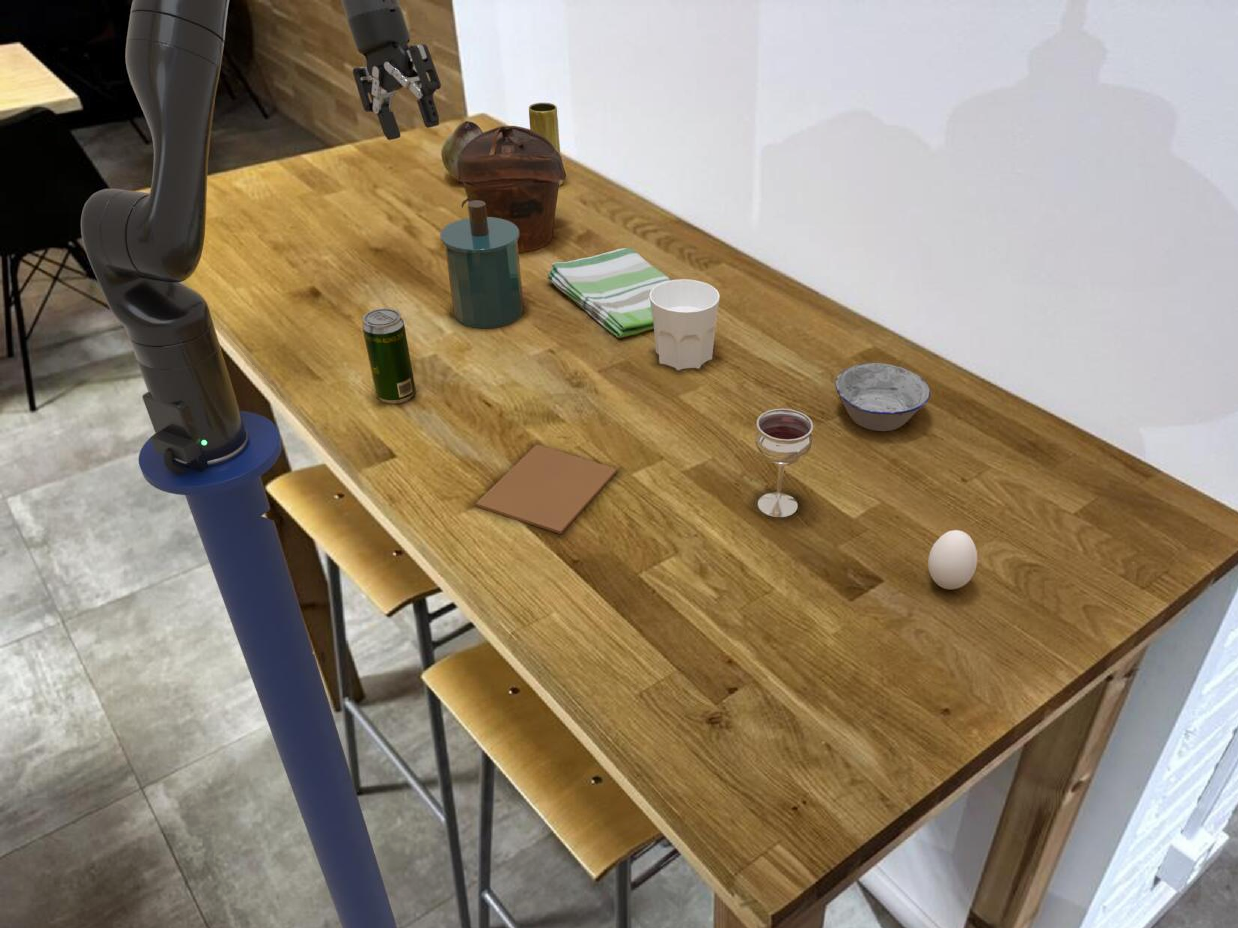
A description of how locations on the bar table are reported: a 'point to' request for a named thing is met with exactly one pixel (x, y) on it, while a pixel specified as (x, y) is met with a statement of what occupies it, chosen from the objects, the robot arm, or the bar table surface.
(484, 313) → the teal hollow cylinder
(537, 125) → the vase
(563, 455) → the mat
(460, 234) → the lid with knob
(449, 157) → the fruit
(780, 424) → the wineglass
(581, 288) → the dish towel
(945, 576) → the egg
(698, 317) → the cup
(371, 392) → the bar table surface
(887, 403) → the bowl
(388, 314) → the beer can
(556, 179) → the case
